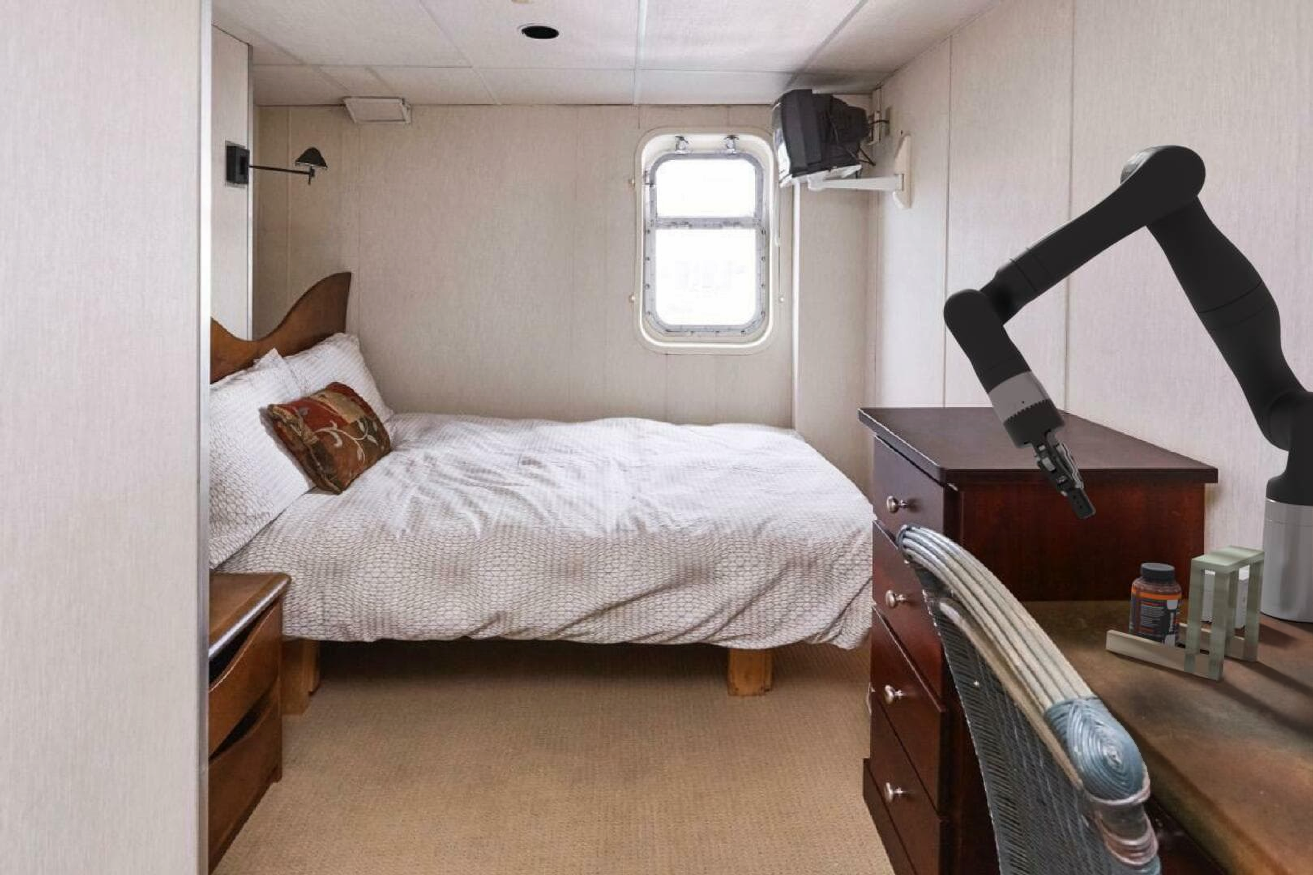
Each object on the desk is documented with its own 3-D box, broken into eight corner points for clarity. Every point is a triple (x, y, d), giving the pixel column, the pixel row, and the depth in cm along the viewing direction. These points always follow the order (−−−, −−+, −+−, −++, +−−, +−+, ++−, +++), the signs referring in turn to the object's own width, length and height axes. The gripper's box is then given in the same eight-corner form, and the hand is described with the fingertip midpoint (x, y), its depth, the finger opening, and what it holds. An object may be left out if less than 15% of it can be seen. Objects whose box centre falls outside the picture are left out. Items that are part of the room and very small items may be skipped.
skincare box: (1240, 630, 134) (1243, 579, 133) (1194, 619, 139) (1197, 570, 138) (1256, 621, 138) (1260, 572, 137) (1211, 611, 143) (1214, 563, 142)
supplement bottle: (1184, 656, 124) (1190, 573, 122) (1135, 654, 125) (1140, 571, 124) (1169, 641, 130) (1174, 561, 128) (1123, 638, 131) (1127, 559, 129)
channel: (1147, 632, 133) (1153, 531, 132) (1256, 660, 122) (1265, 551, 121) (1106, 649, 127) (1111, 544, 125) (1218, 681, 116) (1226, 565, 114)
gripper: (1038, 394, 130) (1105, 505, 125) (1059, 399, 141) (1121, 502, 136) (989, 421, 134) (1053, 530, 129) (1013, 424, 145) (1073, 525, 140)
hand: (1088, 515), depth 132 cm, fingers closed
